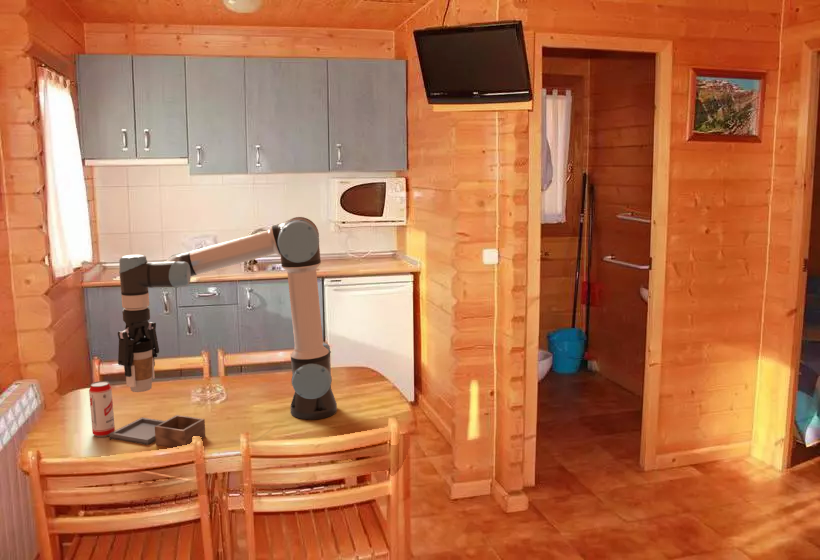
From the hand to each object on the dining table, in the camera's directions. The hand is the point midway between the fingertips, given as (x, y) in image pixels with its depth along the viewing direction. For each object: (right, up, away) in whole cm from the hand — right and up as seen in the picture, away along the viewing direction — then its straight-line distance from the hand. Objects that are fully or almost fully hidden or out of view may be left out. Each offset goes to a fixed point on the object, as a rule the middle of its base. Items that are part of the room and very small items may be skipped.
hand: (140, 382), depth 218 cm
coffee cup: (0, -2, 0) cm, 2 cm away
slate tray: (0, -16, +3) cm, 17 cm away
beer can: (-12, -16, +3) cm, 21 cm away
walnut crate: (+13, -17, -3) cm, 22 cm away
